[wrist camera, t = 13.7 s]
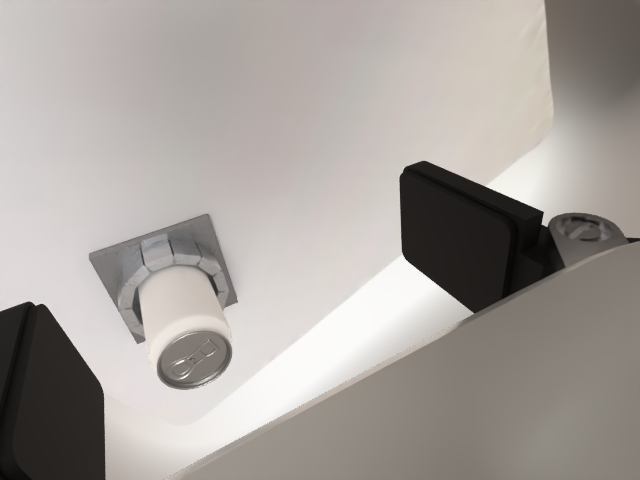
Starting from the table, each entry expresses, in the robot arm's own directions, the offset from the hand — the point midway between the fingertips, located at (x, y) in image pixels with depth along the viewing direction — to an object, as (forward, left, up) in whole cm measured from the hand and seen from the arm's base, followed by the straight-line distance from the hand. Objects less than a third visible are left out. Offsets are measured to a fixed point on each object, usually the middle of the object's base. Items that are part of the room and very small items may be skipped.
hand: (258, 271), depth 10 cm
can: (+4, +17, -28) cm, 32 cm away
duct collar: (+4, +17, -28) cm, 33 cm away
